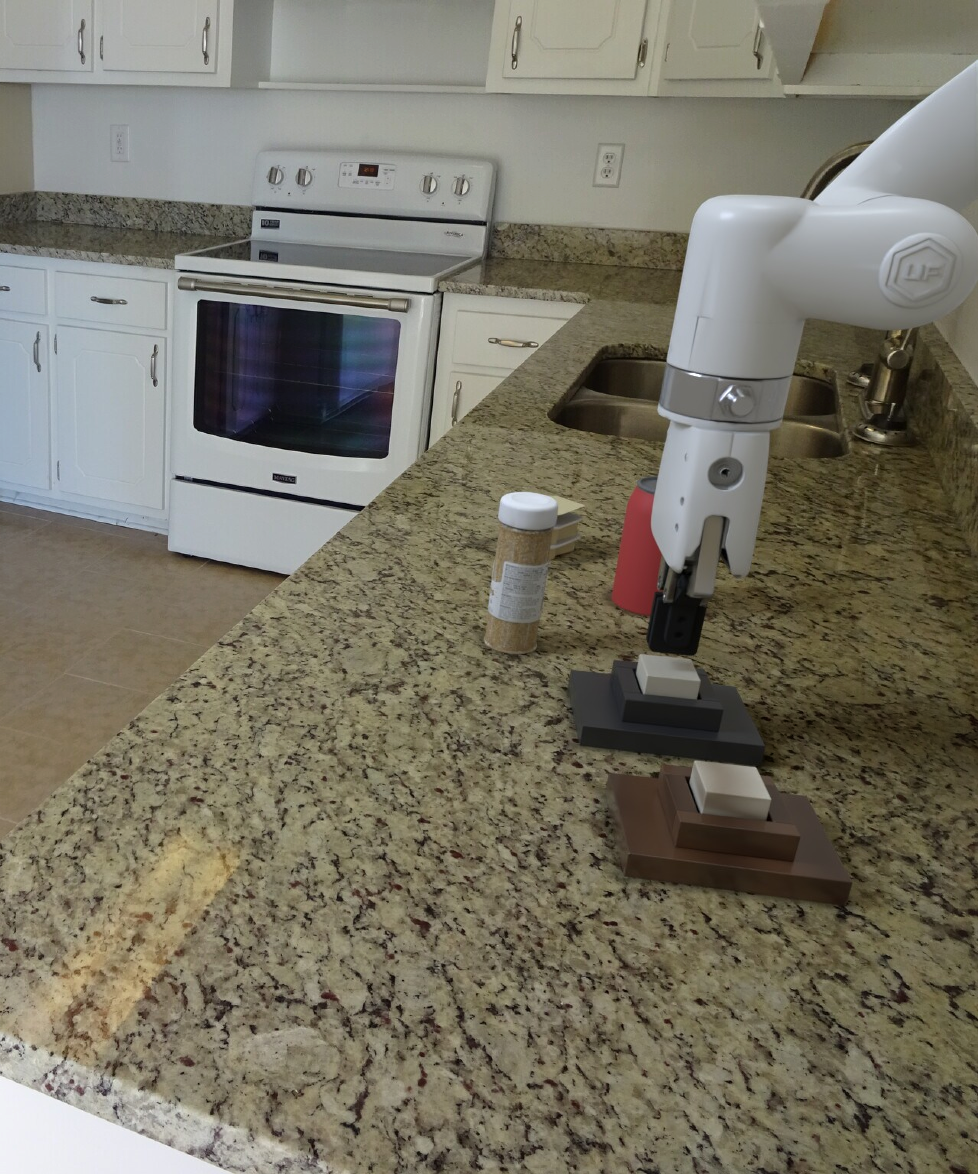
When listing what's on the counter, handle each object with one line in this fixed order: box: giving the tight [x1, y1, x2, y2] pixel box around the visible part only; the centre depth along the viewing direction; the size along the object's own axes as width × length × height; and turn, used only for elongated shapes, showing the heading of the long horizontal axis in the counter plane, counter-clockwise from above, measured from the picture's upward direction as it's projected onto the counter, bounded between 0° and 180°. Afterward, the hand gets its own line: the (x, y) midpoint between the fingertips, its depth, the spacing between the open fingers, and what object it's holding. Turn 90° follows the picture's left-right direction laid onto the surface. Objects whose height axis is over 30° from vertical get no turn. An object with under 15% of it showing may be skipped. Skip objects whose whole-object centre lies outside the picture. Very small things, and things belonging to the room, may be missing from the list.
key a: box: [689, 759, 771, 821], centre depth 67 cm, size 4×4×2 cm
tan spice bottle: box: [483, 491, 558, 655], centre depth 92 cm, size 5×5×13 cm
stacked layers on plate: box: [548, 495, 586, 561], centre depth 115 cm, size 10×9×6 cm
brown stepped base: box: [604, 763, 853, 907], centre depth 68 cm, size 12×9×4 cm
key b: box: [636, 653, 701, 699], centre depth 80 cm, size 4×4×2 cm
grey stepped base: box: [567, 659, 766, 767], centre depth 81 cm, size 12×9×4 cm
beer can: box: [611, 475, 664, 617], centre depth 101 cm, size 7×7×12 cm
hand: (670, 648), depth 79 cm, fingers closed
